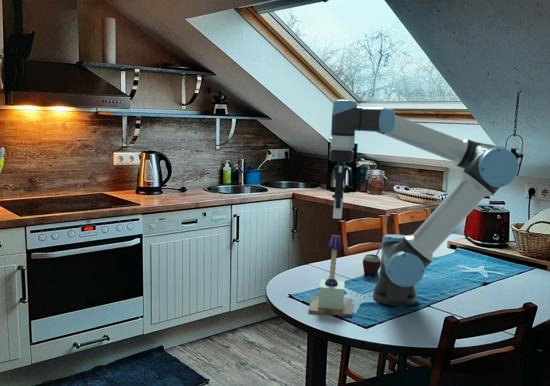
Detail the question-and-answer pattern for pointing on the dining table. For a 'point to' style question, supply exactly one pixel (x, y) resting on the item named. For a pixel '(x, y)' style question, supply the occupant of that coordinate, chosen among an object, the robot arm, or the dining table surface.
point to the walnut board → (326, 311)
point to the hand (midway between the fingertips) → (337, 214)
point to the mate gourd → (371, 264)
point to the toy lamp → (333, 258)
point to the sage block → (331, 295)
